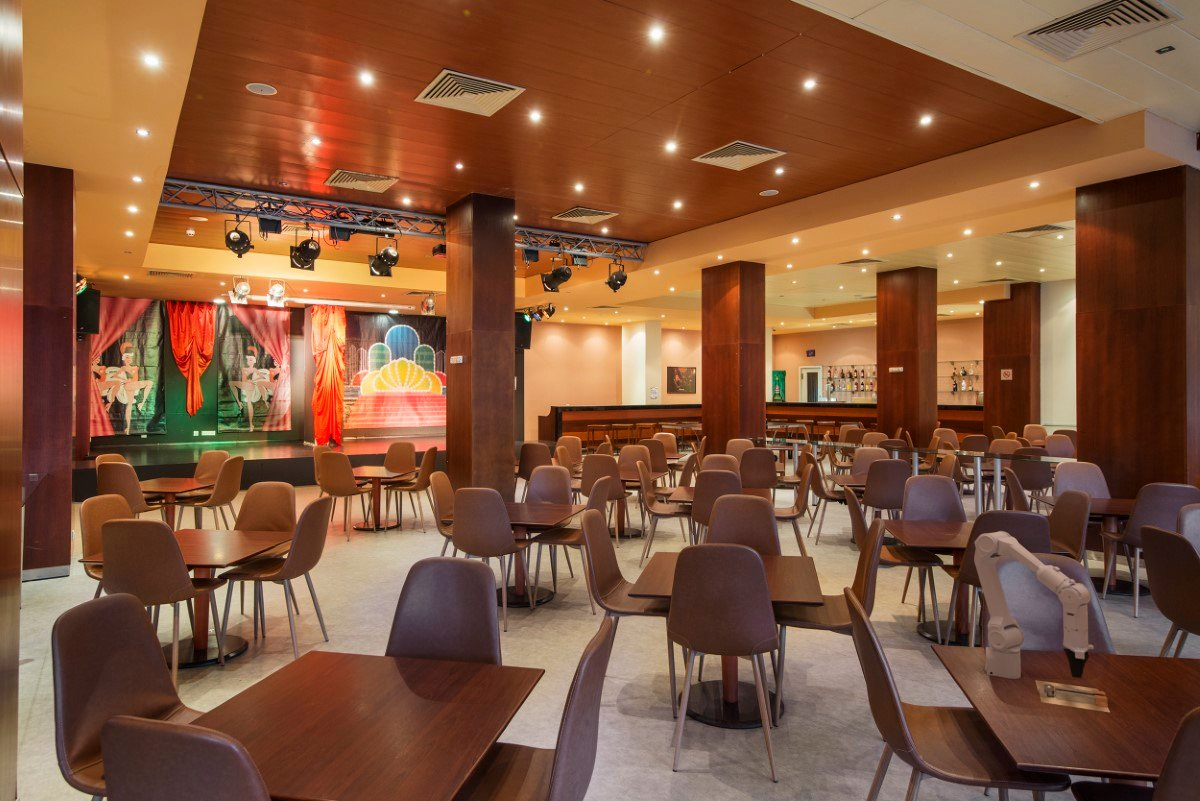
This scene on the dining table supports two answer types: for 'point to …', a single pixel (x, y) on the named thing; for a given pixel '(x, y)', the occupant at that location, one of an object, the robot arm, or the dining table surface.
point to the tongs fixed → (1073, 696)
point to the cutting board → (1069, 703)
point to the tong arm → (1080, 691)
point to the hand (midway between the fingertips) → (1076, 676)
